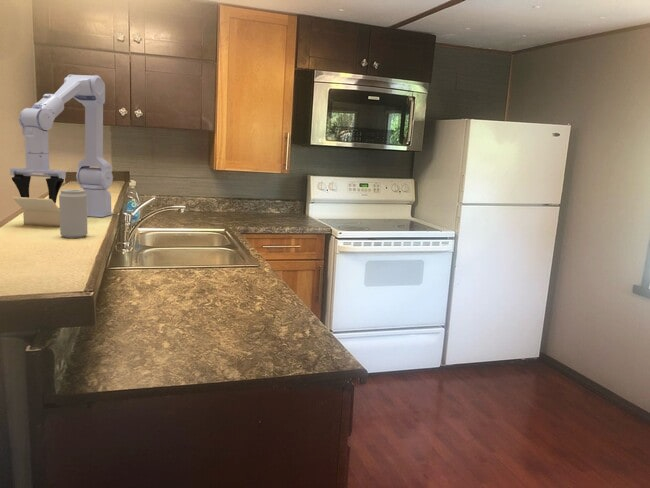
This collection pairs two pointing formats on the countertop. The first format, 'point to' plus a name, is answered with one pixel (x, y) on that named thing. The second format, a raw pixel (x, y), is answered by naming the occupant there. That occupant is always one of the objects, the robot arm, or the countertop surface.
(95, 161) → the robot arm
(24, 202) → the flap
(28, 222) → the carton
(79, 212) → the beverage can
